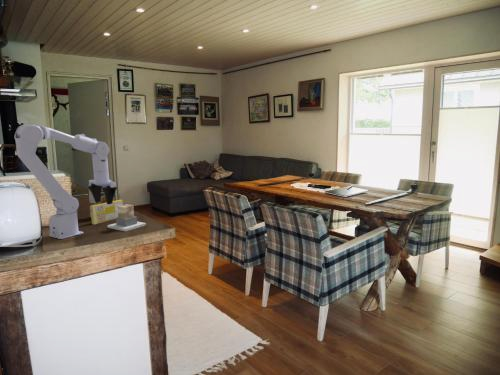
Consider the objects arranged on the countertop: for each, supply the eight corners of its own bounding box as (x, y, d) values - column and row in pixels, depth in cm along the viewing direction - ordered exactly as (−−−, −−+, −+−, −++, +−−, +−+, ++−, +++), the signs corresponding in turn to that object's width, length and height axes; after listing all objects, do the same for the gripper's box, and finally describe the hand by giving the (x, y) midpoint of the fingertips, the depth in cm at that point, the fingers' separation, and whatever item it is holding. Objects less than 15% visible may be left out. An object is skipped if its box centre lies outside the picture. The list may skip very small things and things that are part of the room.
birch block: (125, 219, 147) (124, 207, 147) (118, 217, 150) (117, 206, 149) (134, 217, 151) (133, 205, 150) (126, 215, 153) (126, 204, 153)
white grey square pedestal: (125, 231, 144) (124, 221, 143) (107, 227, 149) (107, 218, 149) (146, 225, 153) (145, 216, 152) (128, 221, 159) (128, 213, 158)
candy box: (121, 216, 169) (120, 199, 168) (124, 217, 168) (123, 199, 167) (91, 224, 156) (89, 205, 154) (94, 224, 154) (92, 206, 153)
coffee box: (97, 219, 163) (95, 184, 160) (89, 217, 167) (87, 183, 164) (115, 215, 170) (113, 182, 168) (107, 213, 174) (105, 181, 171)
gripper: (120, 170, 146) (123, 202, 148) (98, 168, 153) (100, 199, 155) (106, 172, 140) (108, 206, 142) (83, 170, 147) (86, 202, 149)
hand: (103, 203), depth 148 cm, fingers open, 7 cm apart
